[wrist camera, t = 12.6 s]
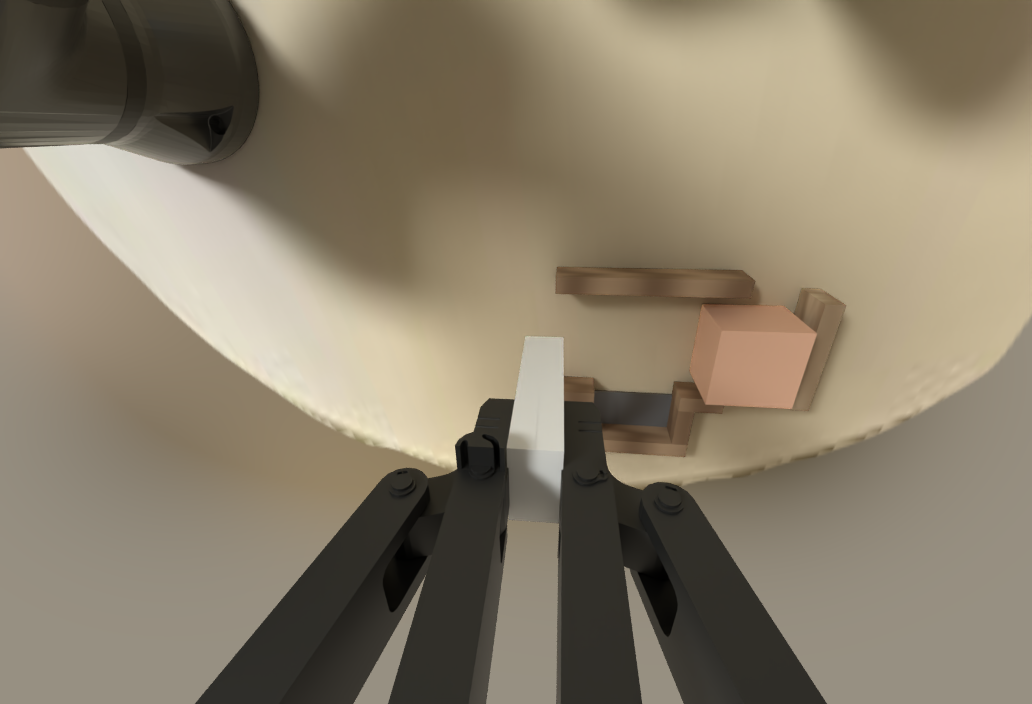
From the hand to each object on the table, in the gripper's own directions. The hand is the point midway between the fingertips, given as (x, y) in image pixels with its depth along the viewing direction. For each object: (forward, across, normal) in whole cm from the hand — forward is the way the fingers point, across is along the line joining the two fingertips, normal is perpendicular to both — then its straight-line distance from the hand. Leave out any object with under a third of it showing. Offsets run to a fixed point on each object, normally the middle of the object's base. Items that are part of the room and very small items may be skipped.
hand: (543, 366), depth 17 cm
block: (+23, +17, -10) cm, 30 cm away
